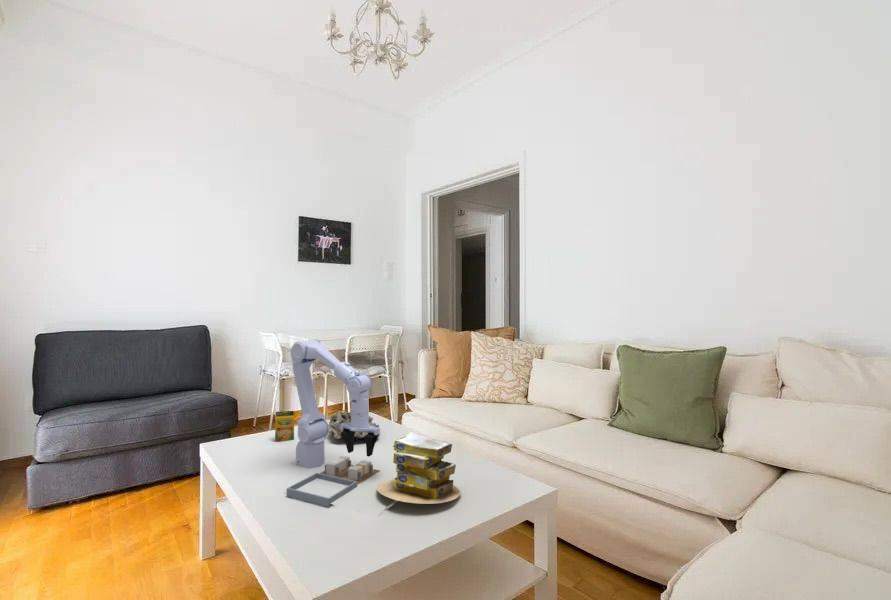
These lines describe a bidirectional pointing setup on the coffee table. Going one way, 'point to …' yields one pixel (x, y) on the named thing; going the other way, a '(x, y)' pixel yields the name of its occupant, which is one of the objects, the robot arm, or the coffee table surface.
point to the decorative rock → (345, 417)
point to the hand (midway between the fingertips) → (360, 453)
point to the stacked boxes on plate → (420, 472)
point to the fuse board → (344, 473)
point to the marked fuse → (359, 469)
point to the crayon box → (284, 426)
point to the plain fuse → (337, 465)
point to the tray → (316, 498)
